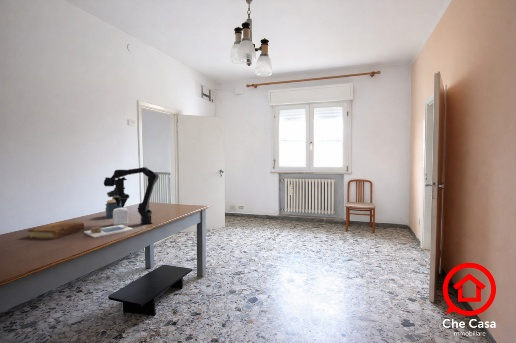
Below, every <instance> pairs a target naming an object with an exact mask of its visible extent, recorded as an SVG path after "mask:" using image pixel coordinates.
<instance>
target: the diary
mask: <svg viewBox="0 0 516 343" xmlns="http://www.w3.org/2000/svg"><path fill="white" fill-rule="evenodd" d="M82 230H85V223H84V222H82V221H81V222H78V221H75V222H74V221H73V222H72V221H58V222H55V223H50V224H46V225H42V226H39V227H34V228H31V229H27V233H29V238H32V237H36V238H35V239H48V240H56V239H59V238H62V237H65V236H69V235H71V234H74V233H77V232H80V231H82Z"/></svg>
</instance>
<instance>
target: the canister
mask: <svg viewBox="0 0 516 343" xmlns="http://www.w3.org/2000/svg"><path fill="white" fill-rule="evenodd" d="M117 208H122V207H121V201H120V205H119V206H118V207H117V204H116V201H115V199H113V198H112V197H111V199H108V200H107V201H106V203H105V208H104V209H105V218H106V219H113V210H114V209H117Z"/></svg>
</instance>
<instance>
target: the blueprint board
mask: <svg viewBox="0 0 516 343" xmlns="http://www.w3.org/2000/svg"><path fill="white" fill-rule="evenodd" d="M130 231H134V228H133V227H129V226H127V225H124V224H119V225H113V226H107V227H99V226H92V227H90V230H86V231H85V230H84V232H83V233H84V234H85V235H87V236H89V237H92V238H99V237H103V236H109V235H113V234H114V235H115V234H120V233H124V232H130Z"/></svg>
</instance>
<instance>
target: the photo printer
mask: <svg viewBox="0 0 516 343" xmlns="http://www.w3.org/2000/svg"><path fill="white" fill-rule="evenodd" d="M124 224H129V210H128V208H127V207H123V208H117V209H114V210H113V218H112V225H113V226H117V225H124Z"/></svg>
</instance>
